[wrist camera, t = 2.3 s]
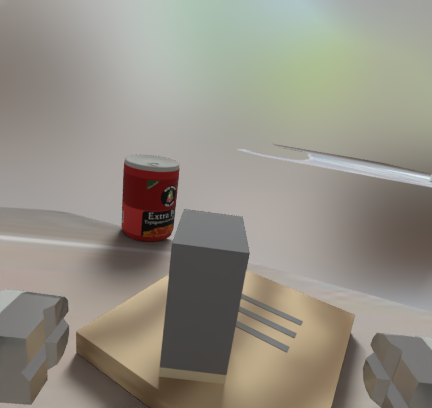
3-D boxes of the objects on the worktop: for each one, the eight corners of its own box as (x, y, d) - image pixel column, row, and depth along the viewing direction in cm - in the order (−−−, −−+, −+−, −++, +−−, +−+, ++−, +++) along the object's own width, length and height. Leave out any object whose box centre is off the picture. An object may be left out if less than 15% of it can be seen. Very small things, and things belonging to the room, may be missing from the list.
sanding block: (224, 384, 21) (249, 253, 18) (158, 376, 21) (172, 242, 18) (223, 324, 27) (242, 216, 24) (172, 317, 27) (184, 208, 23)
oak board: (76, 352, 24) (76, 331, 24) (201, 266, 39) (203, 252, 39) (299, 520, 16) (308, 495, 15) (349, 331, 31) (355, 314, 31)
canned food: (146, 247, 42) (151, 169, 39) (109, 228, 46) (112, 156, 43) (183, 233, 48) (191, 164, 45) (148, 217, 52) (153, 153, 49)
